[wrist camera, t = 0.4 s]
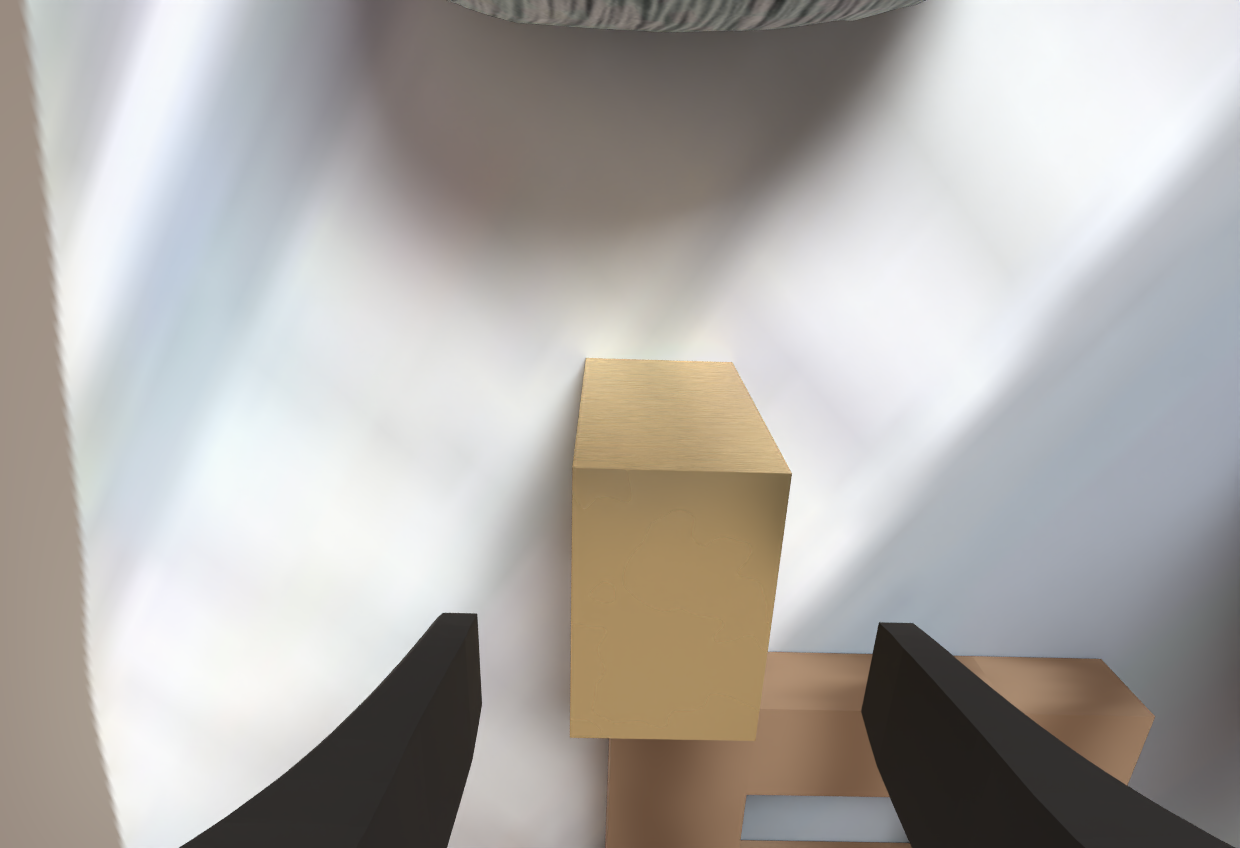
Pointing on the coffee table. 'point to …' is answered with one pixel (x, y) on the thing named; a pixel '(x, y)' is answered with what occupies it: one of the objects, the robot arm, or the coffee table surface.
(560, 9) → the grey cylinder
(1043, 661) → the slot board
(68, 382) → the coffee table surface
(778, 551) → the key peg
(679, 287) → the coffee table surface
